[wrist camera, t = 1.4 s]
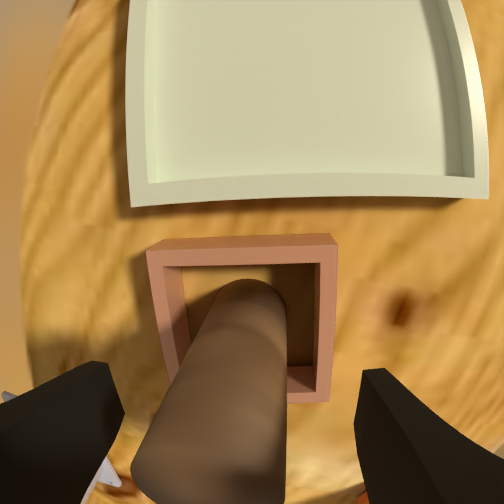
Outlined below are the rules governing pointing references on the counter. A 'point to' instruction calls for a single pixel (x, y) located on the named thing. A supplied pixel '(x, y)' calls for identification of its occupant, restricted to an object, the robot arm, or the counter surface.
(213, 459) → the dowel
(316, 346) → the holder
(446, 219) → the counter surface
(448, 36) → the tray
